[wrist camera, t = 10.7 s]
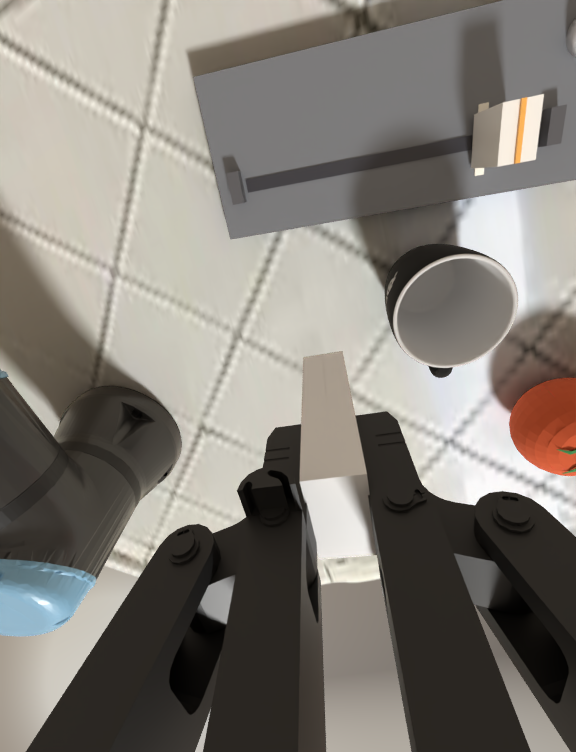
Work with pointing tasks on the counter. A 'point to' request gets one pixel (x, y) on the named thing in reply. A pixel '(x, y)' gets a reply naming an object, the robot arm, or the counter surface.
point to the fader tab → (507, 133)
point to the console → (389, 117)
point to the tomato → (547, 426)
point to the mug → (449, 305)
